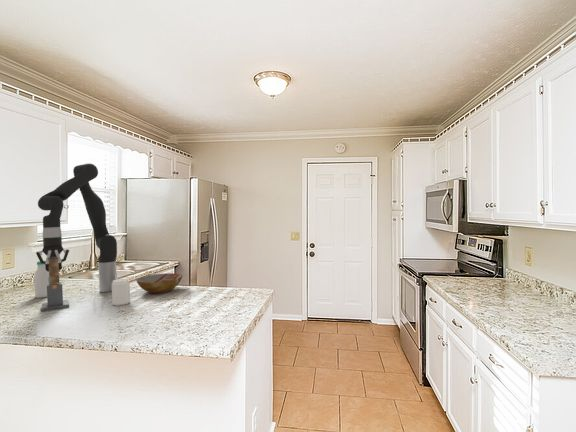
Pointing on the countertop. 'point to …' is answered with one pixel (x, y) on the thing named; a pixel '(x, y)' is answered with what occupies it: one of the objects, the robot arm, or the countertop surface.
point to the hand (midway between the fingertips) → (53, 270)
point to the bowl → (159, 282)
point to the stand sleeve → (54, 298)
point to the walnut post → (53, 271)
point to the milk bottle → (41, 281)
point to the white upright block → (120, 292)
